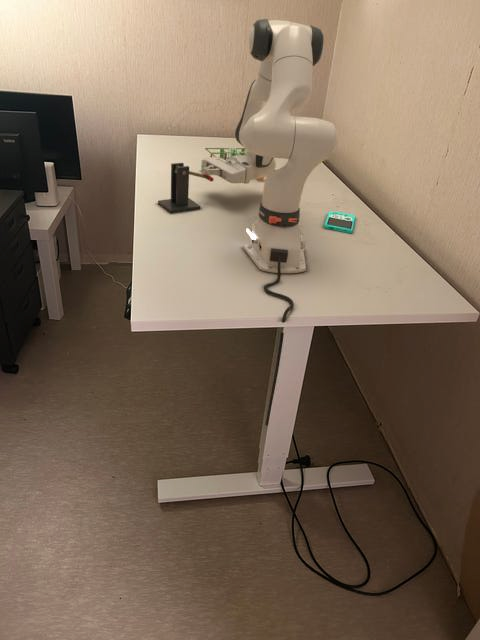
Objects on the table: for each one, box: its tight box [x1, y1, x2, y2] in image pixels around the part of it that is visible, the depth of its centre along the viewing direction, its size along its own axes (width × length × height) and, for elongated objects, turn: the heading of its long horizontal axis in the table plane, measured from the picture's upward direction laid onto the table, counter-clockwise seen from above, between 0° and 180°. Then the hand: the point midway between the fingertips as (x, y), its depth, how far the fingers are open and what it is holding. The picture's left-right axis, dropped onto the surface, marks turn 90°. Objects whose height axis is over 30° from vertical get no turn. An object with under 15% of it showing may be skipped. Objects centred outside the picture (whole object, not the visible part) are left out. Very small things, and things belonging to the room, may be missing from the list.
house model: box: [200, 147, 276, 181], centre depth 211 cm, size 35×30×5 cm
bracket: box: [157, 162, 201, 214], centre depth 163 cm, size 12×10×15 cm
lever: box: [174, 165, 214, 182], centre depth 163 cm, size 14×5×2 cm, turn 125°
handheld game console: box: [323, 211, 356, 234], centre depth 169 cm, size 10×16×1 cm, turn 164°
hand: (205, 171), depth 165 cm, fingers closed
